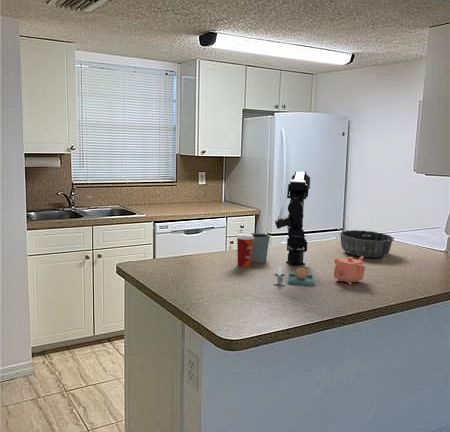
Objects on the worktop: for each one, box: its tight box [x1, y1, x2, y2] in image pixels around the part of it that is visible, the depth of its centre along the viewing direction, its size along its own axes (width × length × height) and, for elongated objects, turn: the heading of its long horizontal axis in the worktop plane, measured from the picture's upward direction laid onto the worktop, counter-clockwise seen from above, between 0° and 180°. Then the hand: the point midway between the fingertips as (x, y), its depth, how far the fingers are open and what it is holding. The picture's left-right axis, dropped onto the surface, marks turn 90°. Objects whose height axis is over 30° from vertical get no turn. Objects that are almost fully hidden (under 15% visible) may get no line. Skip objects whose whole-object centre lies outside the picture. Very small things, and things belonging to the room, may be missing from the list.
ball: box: [294, 267, 309, 280], centre depth 192 cm, size 5×5×5 cm
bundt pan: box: [339, 229, 395, 258], centre depth 242 cm, size 26×26×10 cm
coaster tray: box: [287, 272, 316, 286], centre depth 192 cm, size 10×10×2 cm
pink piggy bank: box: [333, 256, 366, 284], centre depth 193 cm, size 14×12×10 cm
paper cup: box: [236, 233, 254, 268], centre depth 211 cm, size 8×8×14 cm
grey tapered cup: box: [250, 232, 271, 264], centre depth 222 cm, size 10×10×12 cm
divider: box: [273, 264, 286, 287], centre depth 192 cm, size 16×4×4 cm, turn 172°
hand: (294, 248), depth 198 cm, fingers open, 9 cm apart
